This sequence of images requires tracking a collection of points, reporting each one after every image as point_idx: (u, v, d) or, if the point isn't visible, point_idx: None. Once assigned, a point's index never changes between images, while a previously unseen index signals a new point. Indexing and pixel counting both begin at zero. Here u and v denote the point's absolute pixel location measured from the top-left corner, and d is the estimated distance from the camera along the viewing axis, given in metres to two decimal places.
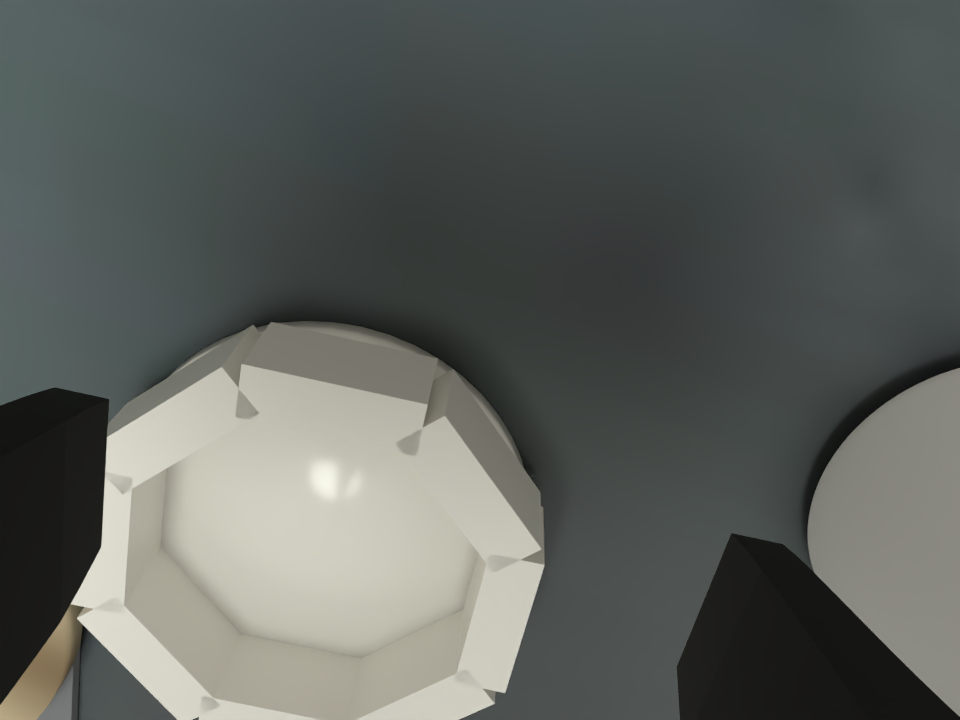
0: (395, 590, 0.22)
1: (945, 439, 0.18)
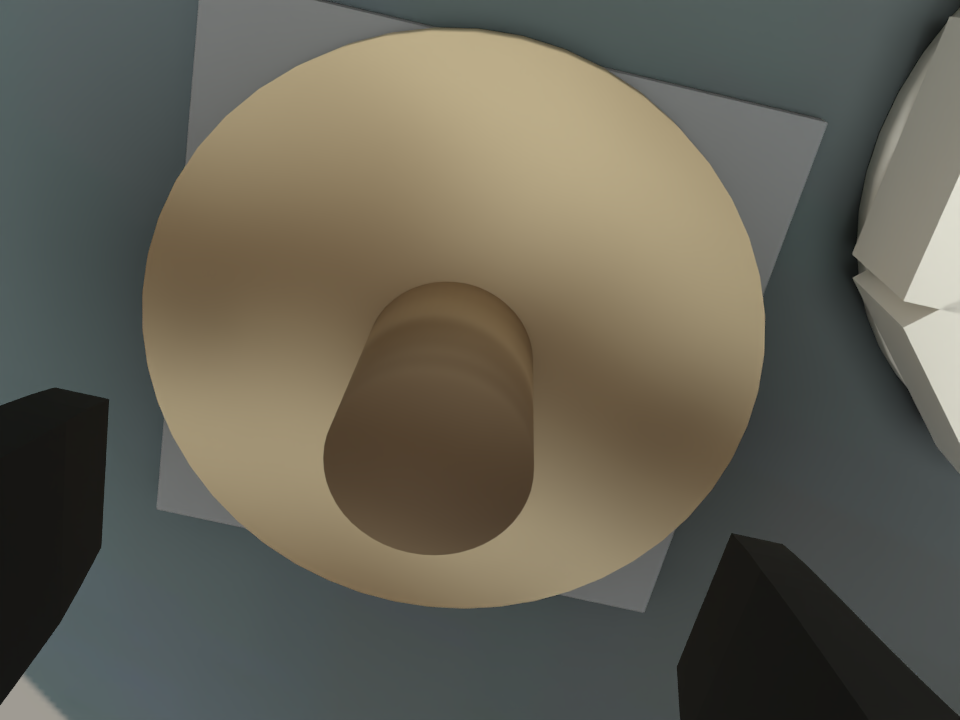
0: None
1: None
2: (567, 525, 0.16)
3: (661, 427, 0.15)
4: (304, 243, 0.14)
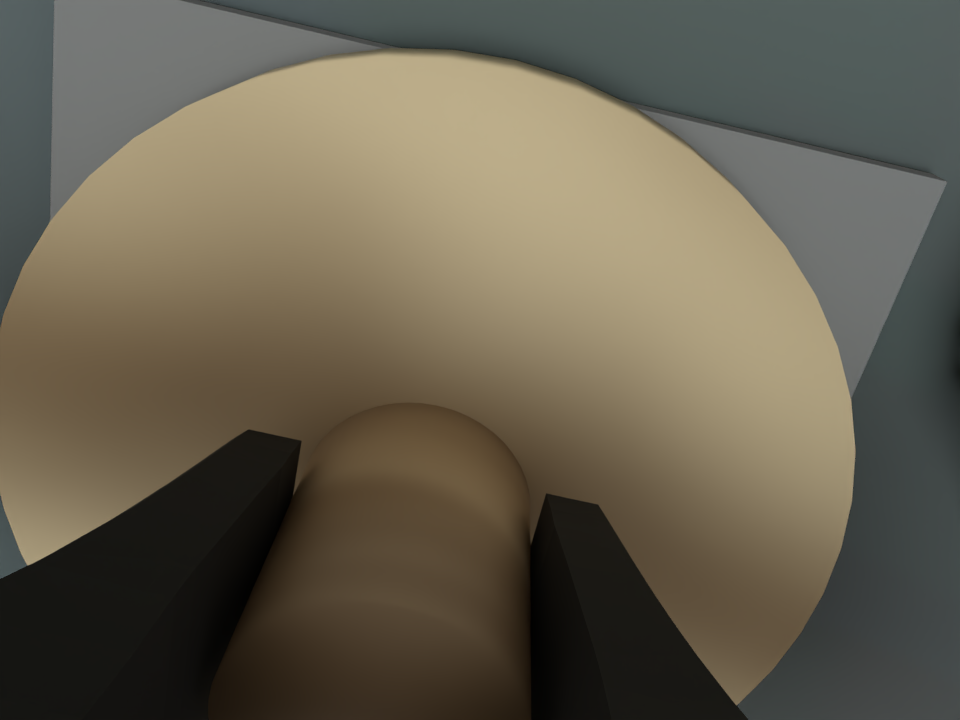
0: None
1: None
2: None
3: (706, 592, 0.11)
4: (209, 351, 0.10)
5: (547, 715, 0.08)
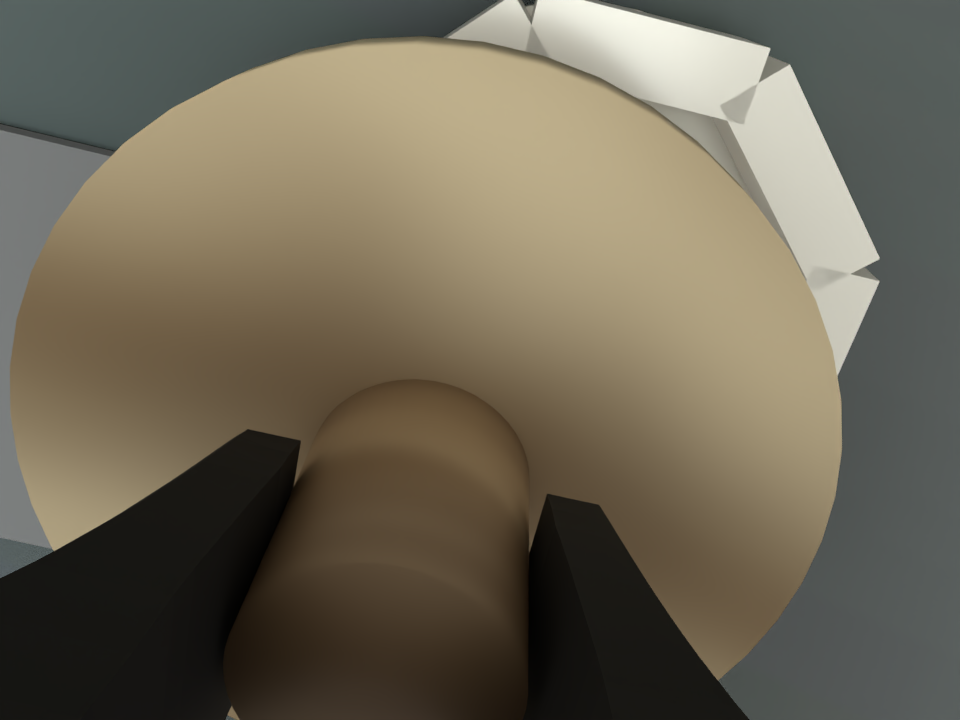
0: None
1: None
2: None
3: (690, 576, 0.12)
4: (230, 319, 0.11)
5: (548, 715, 0.08)
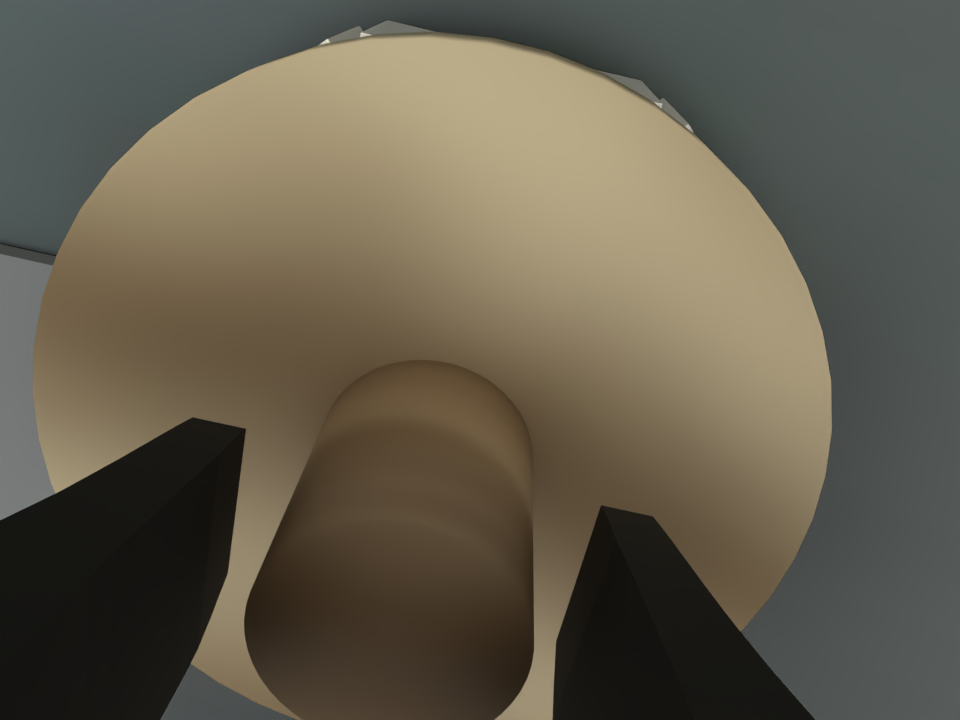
0: None
1: None
2: None
3: (687, 553, 0.12)
4: (247, 300, 0.11)
5: None
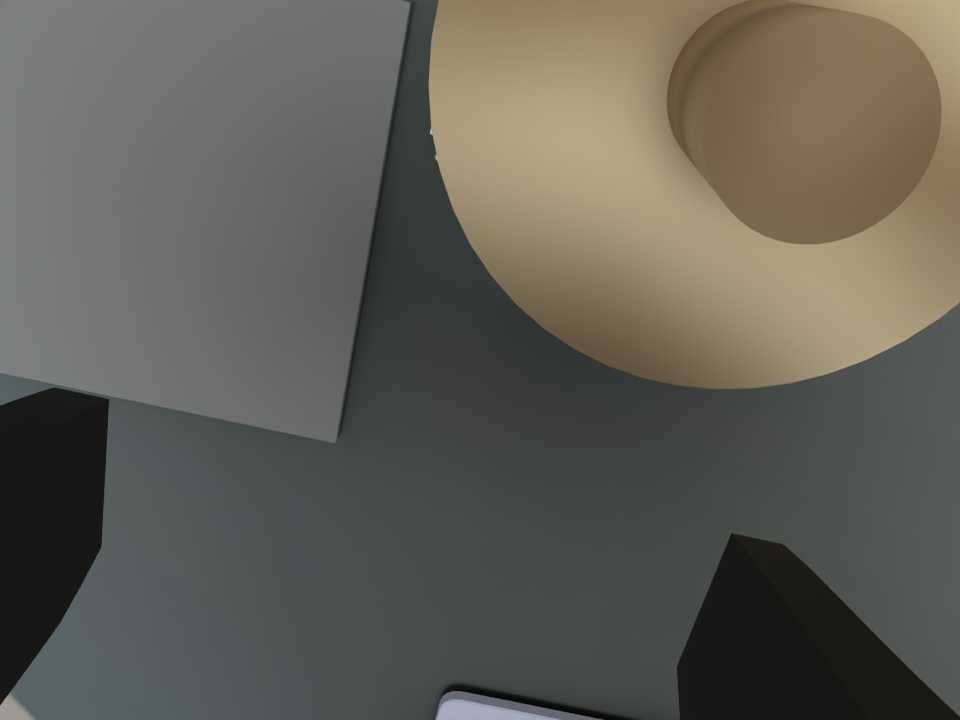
0: None
1: None
2: (842, 296, 0.15)
3: None
4: None
5: None
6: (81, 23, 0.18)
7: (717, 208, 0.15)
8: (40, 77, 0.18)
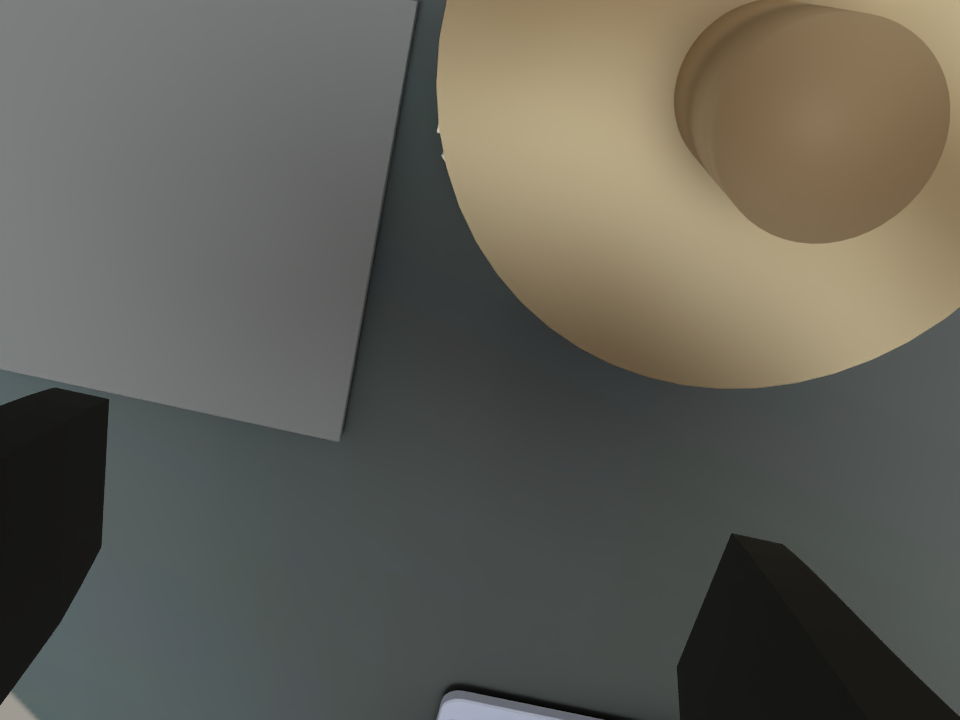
0: None
1: None
2: (848, 296, 0.15)
3: None
4: None
5: None
6: (88, 21, 0.18)
7: (724, 208, 0.15)
8: (46, 74, 0.18)
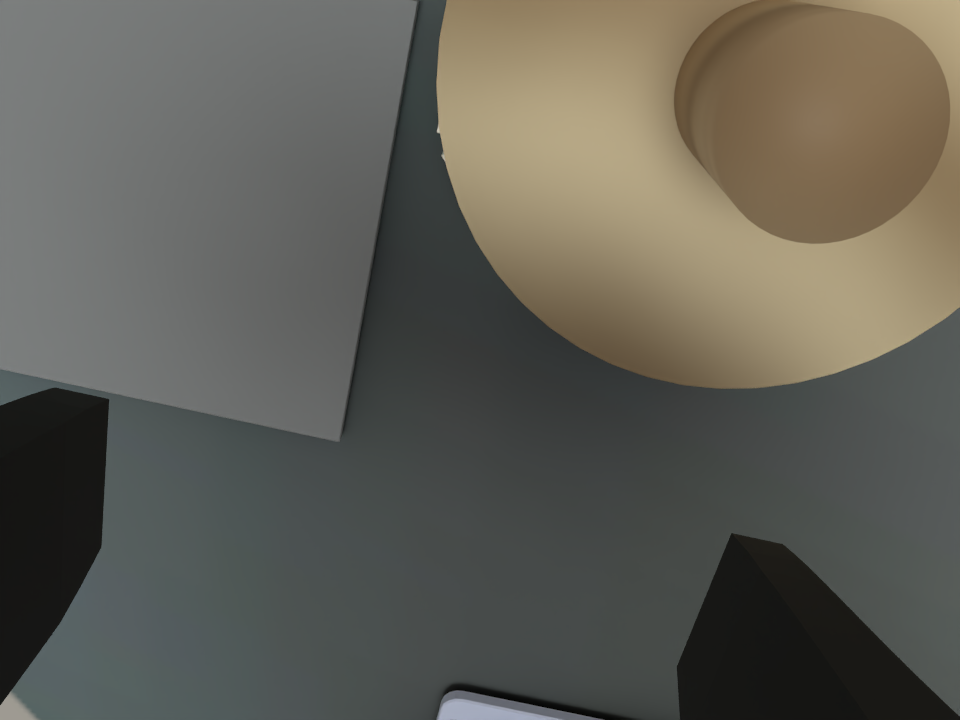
0: None
1: None
2: (848, 296, 0.15)
3: None
4: None
5: None
6: (88, 21, 0.18)
7: (724, 208, 0.15)
8: (46, 74, 0.18)
